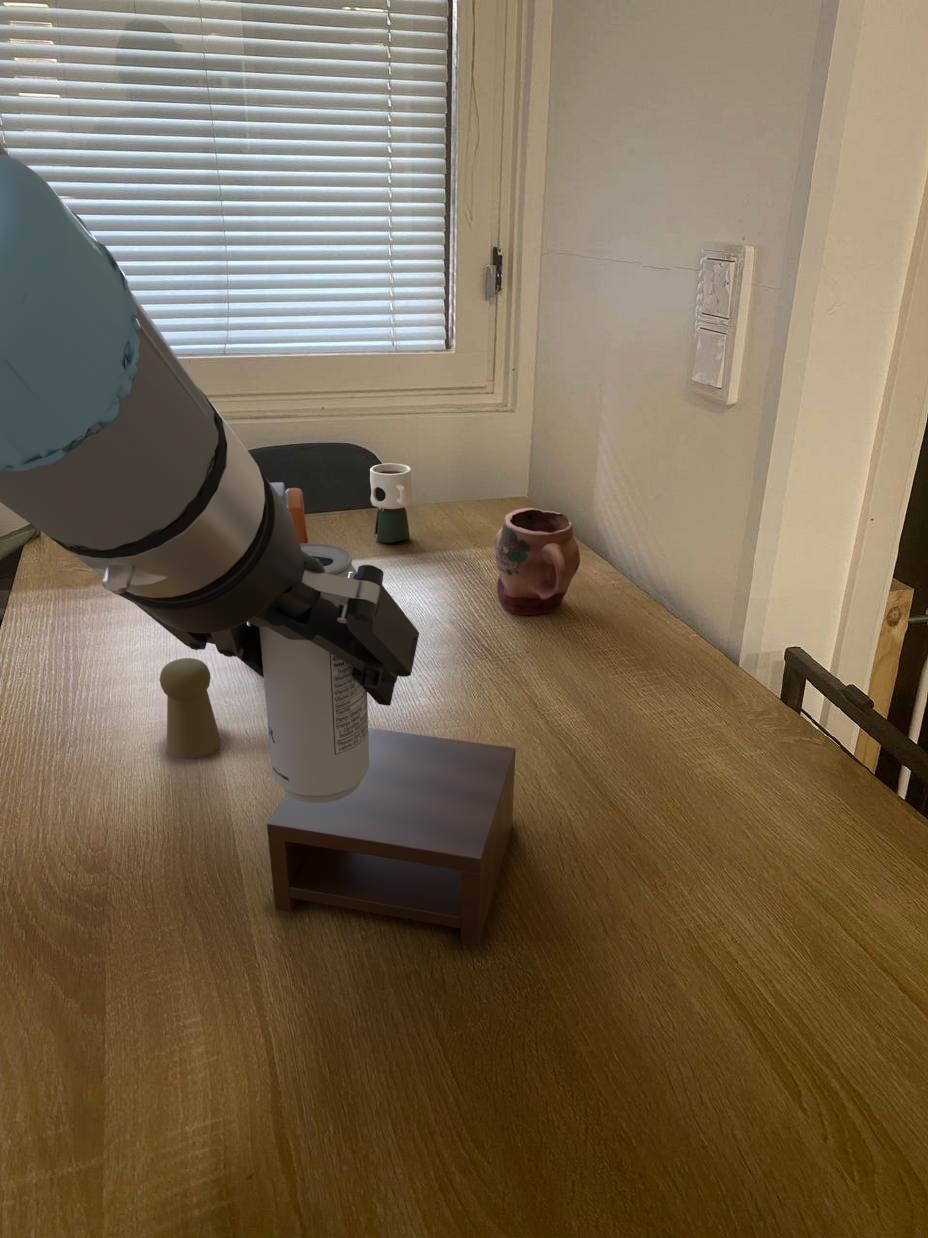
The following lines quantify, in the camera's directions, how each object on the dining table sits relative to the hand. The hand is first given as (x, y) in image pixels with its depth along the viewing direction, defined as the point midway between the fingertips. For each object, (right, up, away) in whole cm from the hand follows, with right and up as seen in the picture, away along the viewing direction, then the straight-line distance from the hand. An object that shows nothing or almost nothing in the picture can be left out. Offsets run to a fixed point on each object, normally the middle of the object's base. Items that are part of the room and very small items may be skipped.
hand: (338, 677), depth 58 cm
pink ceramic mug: (+19, +5, +79) cm, 81 cm away
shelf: (+2, -20, +26) cm, 33 cm away
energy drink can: (-1, -7, -1) cm, 7 cm away
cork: (-22, -11, +43) cm, 50 cm away
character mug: (-5, +18, +104) cm, 106 cm away
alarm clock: (-15, 0, +67) cm, 69 cm away
